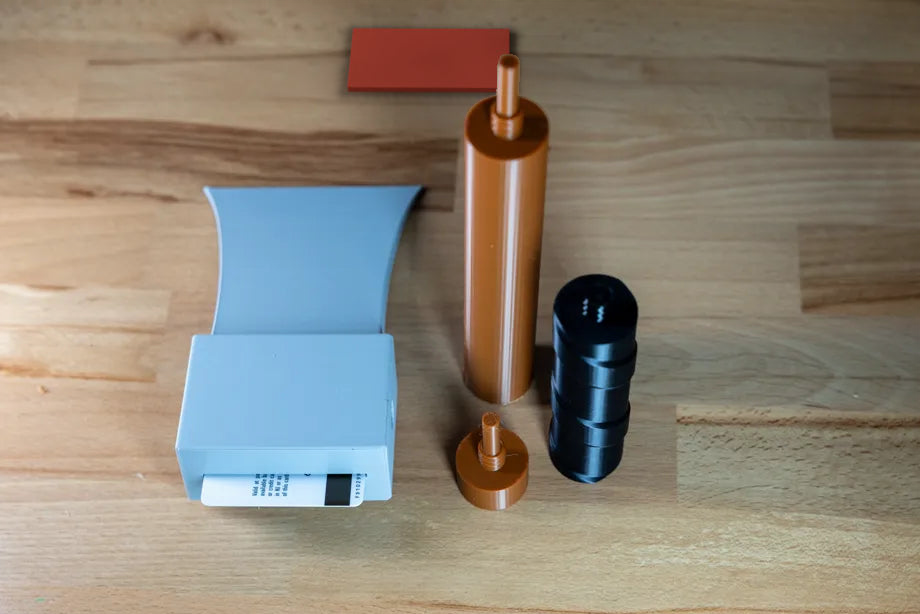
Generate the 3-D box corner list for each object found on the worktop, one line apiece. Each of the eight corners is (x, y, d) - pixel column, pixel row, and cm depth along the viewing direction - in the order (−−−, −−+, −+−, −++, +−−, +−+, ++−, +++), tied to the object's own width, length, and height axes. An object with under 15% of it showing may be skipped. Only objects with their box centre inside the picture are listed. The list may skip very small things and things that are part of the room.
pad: (509, 35, 121) (509, 28, 120) (509, 94, 116) (509, 87, 116) (353, 35, 121) (353, 28, 121) (348, 93, 117) (347, 87, 117)
